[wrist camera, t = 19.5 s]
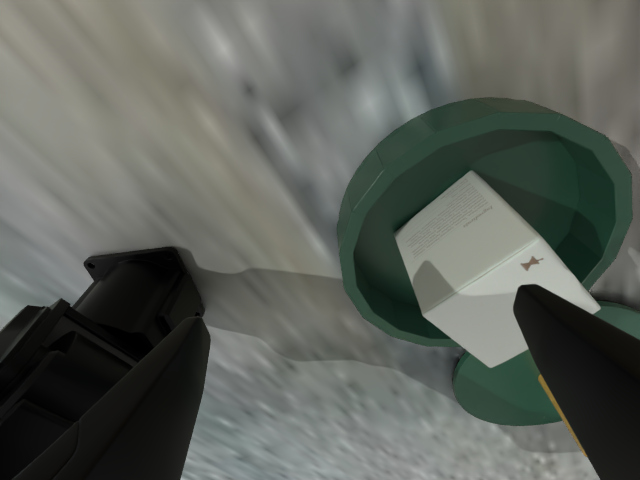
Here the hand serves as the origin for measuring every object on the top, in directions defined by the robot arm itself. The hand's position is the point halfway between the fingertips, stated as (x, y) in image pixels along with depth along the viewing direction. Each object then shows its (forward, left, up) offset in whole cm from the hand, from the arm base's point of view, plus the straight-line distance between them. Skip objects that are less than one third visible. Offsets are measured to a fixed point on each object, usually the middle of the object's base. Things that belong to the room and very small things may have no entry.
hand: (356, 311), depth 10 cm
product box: (+7, -5, -12) cm, 15 cm away
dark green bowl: (+7, -5, -12) cm, 15 cm away
